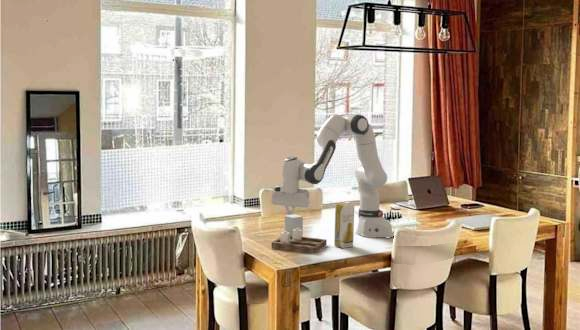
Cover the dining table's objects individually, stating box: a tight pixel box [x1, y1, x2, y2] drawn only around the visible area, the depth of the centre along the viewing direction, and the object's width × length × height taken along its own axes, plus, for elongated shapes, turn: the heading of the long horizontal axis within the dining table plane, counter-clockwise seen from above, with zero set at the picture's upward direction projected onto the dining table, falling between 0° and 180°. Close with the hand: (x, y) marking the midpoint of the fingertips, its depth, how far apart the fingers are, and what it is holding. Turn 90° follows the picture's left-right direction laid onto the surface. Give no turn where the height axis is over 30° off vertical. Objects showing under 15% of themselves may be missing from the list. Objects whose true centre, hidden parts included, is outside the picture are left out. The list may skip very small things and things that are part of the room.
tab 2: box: [292, 228, 303, 240], centre depth 342 cm, size 4×4×7 cm
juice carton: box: [333, 201, 355, 249], centre depth 338 cm, size 9×8×24 cm
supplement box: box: [284, 213, 304, 237], centre depth 353 cm, size 7×7×13 cm
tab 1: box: [279, 230, 290, 244], centre depth 335 cm, size 4×4×7 cm
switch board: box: [271, 235, 327, 254], centre depth 337 cm, size 24×18×3 cm
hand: (290, 214), depth 337 cm, fingers closed
